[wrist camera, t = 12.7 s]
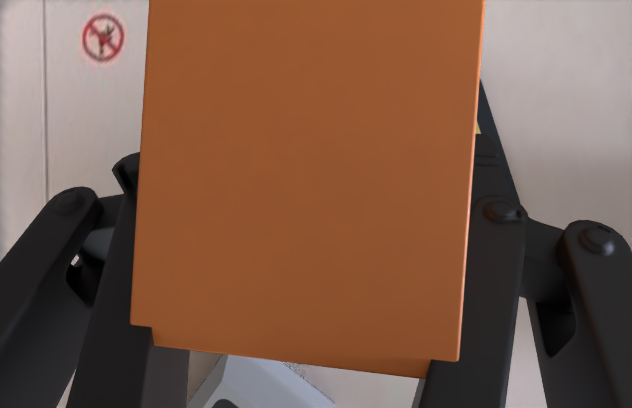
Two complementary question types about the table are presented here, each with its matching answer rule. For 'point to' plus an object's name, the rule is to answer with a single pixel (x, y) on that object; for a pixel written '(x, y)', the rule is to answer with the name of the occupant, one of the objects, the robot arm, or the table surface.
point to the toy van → (308, 179)
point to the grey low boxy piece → (256, 386)
